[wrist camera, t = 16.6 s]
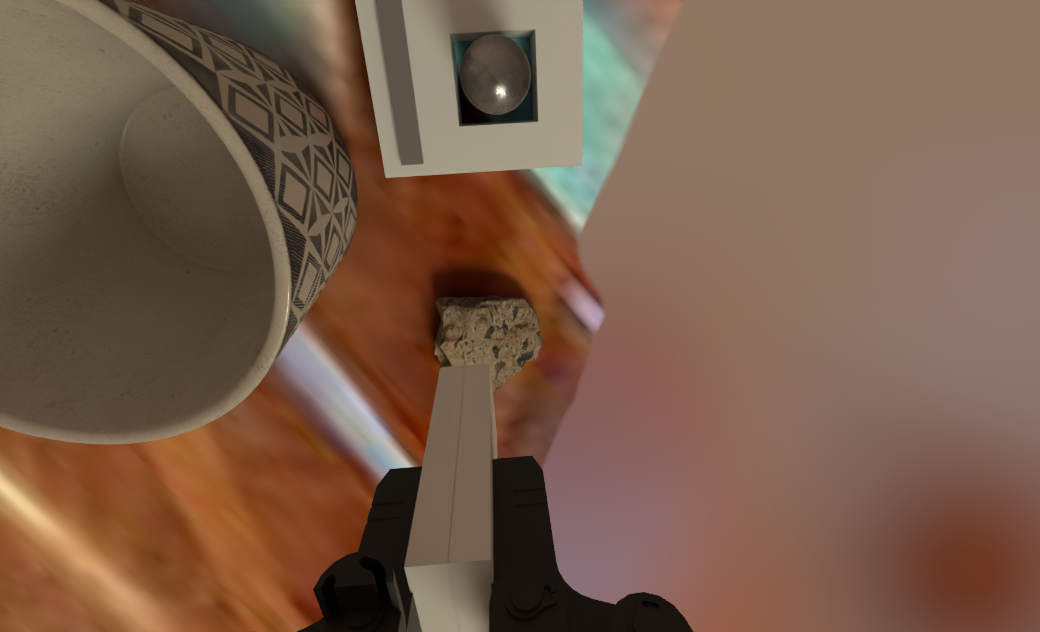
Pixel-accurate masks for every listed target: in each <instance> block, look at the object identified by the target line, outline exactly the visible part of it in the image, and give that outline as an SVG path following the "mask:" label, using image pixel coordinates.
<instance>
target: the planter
mask: <svg viewBox="0 0 1040 632" xmlns="http://www.w3.org/2000/svg"><path fill="white" fill-rule="evenodd" d="M356 219H357V187H356V180H355V175H354V171H353V167H352V163H351V160H350V157H349V154H348V152H347V149H346V146H345V144H344V142H343V140H342V138H341V136H340V134H339V132H338V130H337V128H336V126H335V125H334V123H333V121H332V120H331V118H330V117H329V115H328V114H327V112H326V111H325V110H324V108H323V107H322V106H321V104H320V103H319V102H318V101H317V99H316V98H315V97H314V96H313V95H312V94H311V93H310V92H309V90H308V89H307V88H306V87H305V86H304V85H303V84H302V83H301V82H300V81H298V80H297V79H296V78H295V77H294V76H293V75H292V74H291V73H289V72H288V71H287V70H286V69H284V68H283V67H282V66H280V65H279V64H277V63H276V62H275V61H273V60H272V59H270V58H269V57H267V56H265V55H264V54H262V53H260V52H258V51H256V50H255V49H253V48H251V47H249V46H247V45H244V44H242V43H240V42H237V41H235V40H232V39H230V38H227V37H225V36H222V35H219V34H217V33H214V32H212V31H209V30H206V29H204V28H201V27H198V26H196V25H193V24H191V23H188V22H185V21H183V20H180V19H177V18H175V17H172V16H170V15H167V14H164V13H162V12H159V11H157V10H154V9H151V8H149V7H146V6H143V5H141V4H138V3H136V2H133V1H130V0H0V427H3V428H6V429H10V430H13V431H17V432H20V433H24V434H29V435H33V436H37V437H42V438H48V439H53V440H60V441H67V442H75V443H88V444H128V443H139V442H147V441H153V440H159V439H163V438H168V437H172V436H176V435H179V434H182V433H185V432H189V431H191V430H194V429H196V428H199V427H201V426H204V425H206V424H208V423H210V422H212V421H214V420H216V419H217V418H219V417H221V416H222V415H224V414H226V413H227V412H229V411H230V410H231V409H233V408H234V407H235V406H237V405H238V404H239V403H240V402H242V401H243V400H244V399H245V398H246V397H247V396H248V395H249V394H250V393H251V392H252V391H253V390H254V389H255V388H256V387H257V386H258V384H259V383H260V382H261V381H262V379H263V378H264V377H265V375H266V374H267V372H268V371H269V369H270V368H271V366H272V365H273V363H274V362H275V360H276V359H277V357H278V356H279V354H280V353H281V351H282V350H283V348H284V347H285V345H286V344H287V342H288V341H289V339H290V338H291V336H292V335H293V333H294V332H295V330H296V329H297V327H298V326H299V324H300V323H301V321H302V320H303V318H304V317H305V315H306V314H307V312H308V311H309V309H310V308H311V306H312V305H313V303H314V302H315V300H316V299H317V297H318V296H319V294H320V293H321V291H322V290H323V288H324V287H325V285H326V284H327V282H328V281H329V279H330V278H331V276H332V275H333V273H334V272H335V270H336V269H337V267H338V266H339V264H340V262H341V261H342V259H343V257H344V256H345V254H346V252H347V250H348V248H349V245H350V243H351V240H352V237H353V233H354V230H355V225H356Z"/></svg>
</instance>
